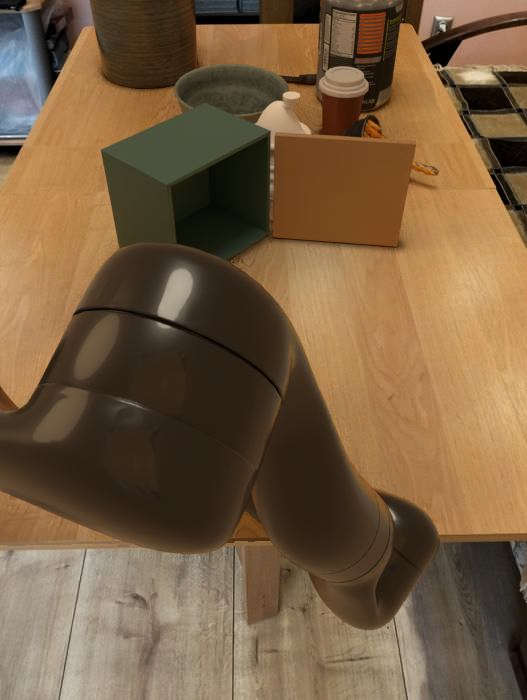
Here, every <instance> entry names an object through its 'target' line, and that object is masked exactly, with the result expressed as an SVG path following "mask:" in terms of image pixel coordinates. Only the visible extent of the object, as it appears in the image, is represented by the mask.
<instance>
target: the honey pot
mask: <svg viewBox="0 0 527 700" xmlns="http://www.w3.org/2000/svg"><path fill="white" fill-rule="evenodd" d="M300 100H301V94H300V93H299V92H297V91H289V92H286V93H284V94H283V101H284V102H283V101H275V102H273V103H271V104H270V105H269V106H268V107H267V108H266V109H265V110H264V111H263V113H262V114H261V116H260V118H259V119H258V121H257V123H255V124H256V125H258V126H261V127H263V128H265V129H268V130H270V131H271V143H270V214H269V221H273V195H274V142H275V132H283V133H299V134H312V130H311V129H310V127H309V126H308V125H307V124H305V123H303V122H300V120H299V118H298V116H297V114H296V113H295V111H294V110H293V109H294V108H296V107H297V106H298V105H299V103H300Z"/></svg>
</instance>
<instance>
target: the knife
mask: <svg viewBox="0 0 527 700" xmlns="http://www.w3.org/2000/svg"><path fill="white" fill-rule="evenodd" d="M278 75H279V76H281V77H282V78H283V79H284V80H285V81H298V83H299V84H308V85H313V84H316V83H317V73H305V74H299V75H298V76H293V75H282V74H278Z"/></svg>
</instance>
